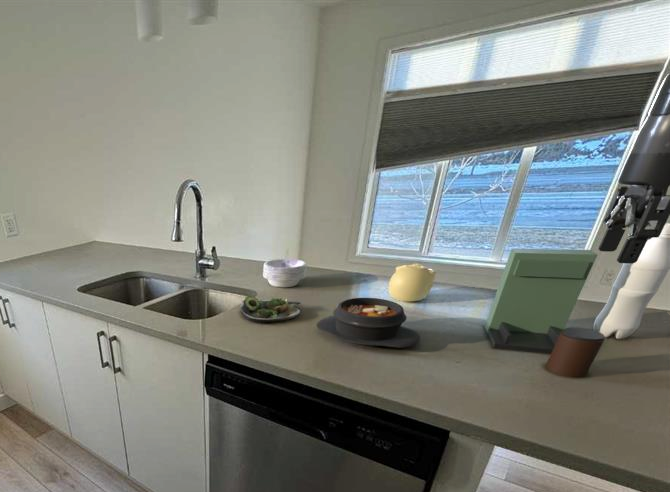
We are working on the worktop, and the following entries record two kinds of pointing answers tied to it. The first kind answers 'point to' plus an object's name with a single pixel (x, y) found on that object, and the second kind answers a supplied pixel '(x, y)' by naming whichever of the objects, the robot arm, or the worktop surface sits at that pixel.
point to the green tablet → (537, 297)
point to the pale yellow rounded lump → (411, 282)
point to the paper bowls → (284, 272)
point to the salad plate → (268, 310)
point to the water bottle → (635, 288)
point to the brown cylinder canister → (574, 352)
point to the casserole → (370, 323)
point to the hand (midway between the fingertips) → (615, 256)
